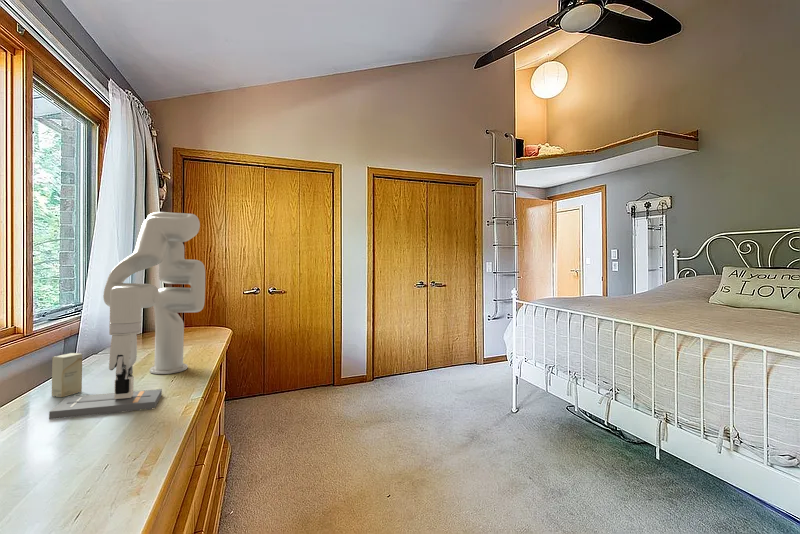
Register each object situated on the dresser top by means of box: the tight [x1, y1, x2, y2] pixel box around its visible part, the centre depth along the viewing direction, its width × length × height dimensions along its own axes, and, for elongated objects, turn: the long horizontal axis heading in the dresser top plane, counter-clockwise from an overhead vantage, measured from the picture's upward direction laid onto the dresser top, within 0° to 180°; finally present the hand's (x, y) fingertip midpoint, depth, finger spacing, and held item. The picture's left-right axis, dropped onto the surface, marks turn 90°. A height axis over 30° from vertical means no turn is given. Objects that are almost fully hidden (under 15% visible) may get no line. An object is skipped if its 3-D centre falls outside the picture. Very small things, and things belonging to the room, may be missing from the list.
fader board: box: [48, 388, 163, 420], centre depth 116 cm, size 12×24×2 cm, turn 112°
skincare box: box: [51, 352, 83, 398], centre depth 125 cm, size 6×4×12 cm
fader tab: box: [114, 376, 135, 399], centre depth 117 cm, size 3×4×5 cm
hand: (124, 390), depth 117 cm, fingers closed on fader tab, 3 cm apart
